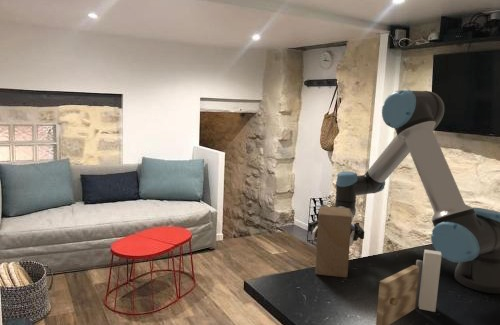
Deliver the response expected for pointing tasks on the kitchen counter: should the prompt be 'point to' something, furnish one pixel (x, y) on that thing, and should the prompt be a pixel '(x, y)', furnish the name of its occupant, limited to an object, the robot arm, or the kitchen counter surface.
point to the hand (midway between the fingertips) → (331, 238)
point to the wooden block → (333, 241)
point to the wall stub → (428, 280)
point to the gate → (397, 295)
